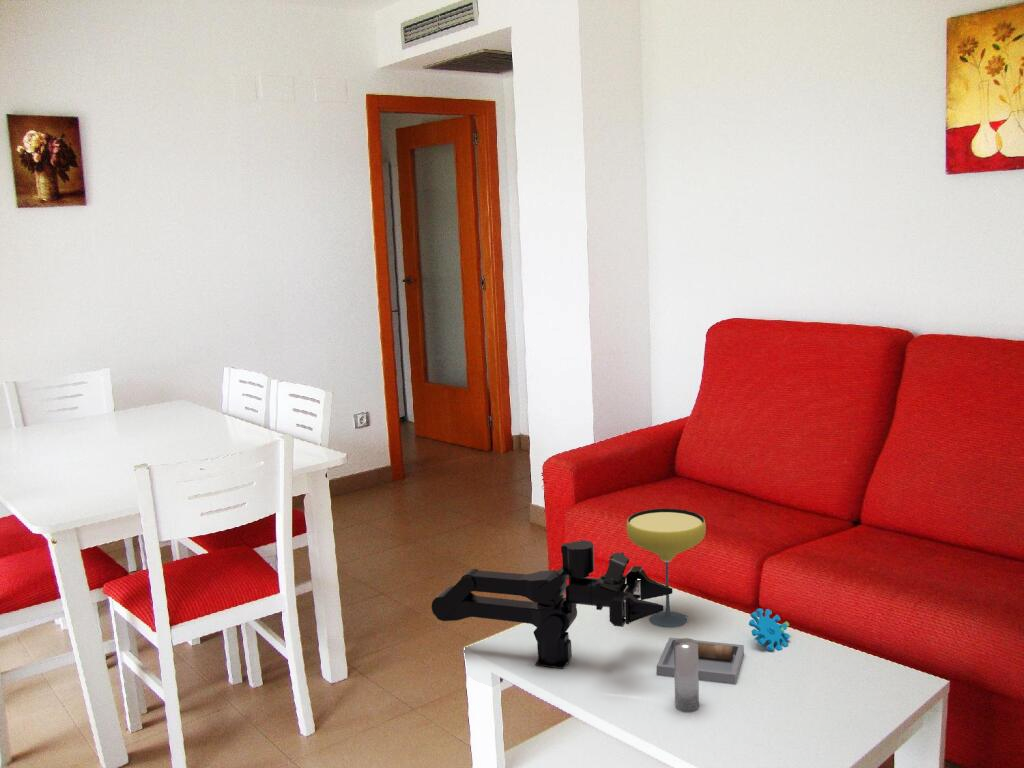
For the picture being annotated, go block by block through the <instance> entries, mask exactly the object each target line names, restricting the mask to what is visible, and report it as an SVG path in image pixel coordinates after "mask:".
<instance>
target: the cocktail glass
mask: <svg viewBox="0 0 1024 768" xmlns="http://www.w3.org/2000/svg"><path fill="white" fill-rule="evenodd" d="M706 525H707V524H706V520H705V518H704V516H702V515H701V514H699V513H696V512H695V511H690V510H687V509H680V508H679V509H678V508H653V509H652V508H651V509H646V510H641V511H638V512H635V513H633V514H631V515H630V516H629V517H627V519H626V534H627V537H628V539H629V540H630V541H631V542H632V543H633V544H635V545H636V546H638V547H640V548H641V549H643V550H645V551H648V552H651V553H653V554H655V555H657V556H658V558H660V560H661V561H662V562H664V564H665V586H668V587H670V585H669V563H670V562H672V560H673V559H674V558H675V556H676V555H679V554H680V553H683V552H685V551H687V550H690V549H692V548H694V547H696V546H698V544H699V543H701V542H702V541H703V540H704V538H705V536H706V531H707V526H706ZM688 617H689V615H687V614H684V613H681V612H676V611H671V605H670V594H669V595H665V609H664V611H661V612H659V613H656V614H653V615H650V617H649V618H648V621H649V623H651V625H653V626H656V627H660V628H664V629H671V628H678V627H679V628H680V627H682V626H684V625H686V624H687V623H688Z"/></svg>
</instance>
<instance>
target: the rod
mask: <svg viewBox="0 0 1024 768" xmlns="http://www.w3.org/2000/svg"><path fill="white" fill-rule="evenodd" d="M698 657H702V658H711V659H720V660H729V661H732V659H733V646H726V645H716V644H707V643H699V644H698Z"/></svg>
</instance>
